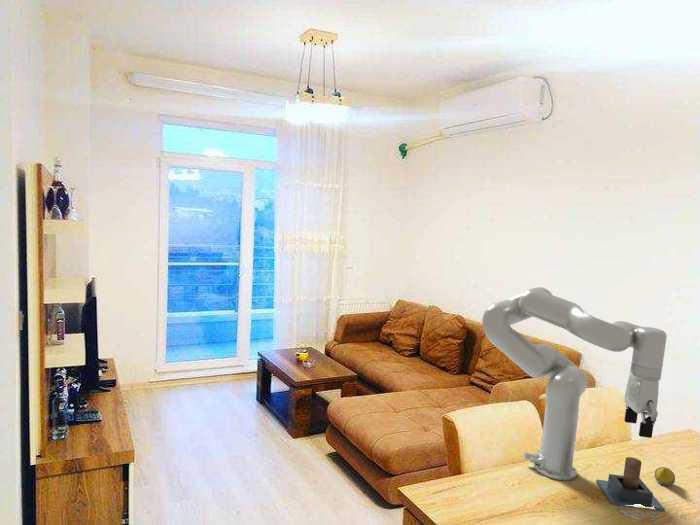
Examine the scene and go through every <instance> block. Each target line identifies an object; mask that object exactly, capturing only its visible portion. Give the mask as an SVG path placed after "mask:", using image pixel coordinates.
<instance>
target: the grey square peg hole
mask: <svg viewBox="0 0 700 525" xmlns="http://www.w3.org/2000/svg"><path fill="white" fill-rule="evenodd" d="M622 482H623V475H618V474H611V473H608V480H603V479H596V480H595V483H596V484H597V485H598V487H599V489H600V491H601V492H602V493H603V495H604V496H605V497H606V500H607V501H608V502H609V503H610V504H611V505H612V506H613V505H614V506H622V507H625V506H624V505H634V504H641V505H643V506H645V507H653V506H654V508H655V509H656V510H655V511H656V512H657V511H658V512H665V507H664V506H663V505H662V504H661V502H659V500H658V499H657V498H656V496H654V493H653V492H652V491H651V490H650V488H649V487H648V486H647V485H646V484H645V483H644V481H643V480H642V479H641V477H640V478H639V485H638V489H632V488H625V487H623V485H622Z"/></svg>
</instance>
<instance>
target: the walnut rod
mask: <svg viewBox="0 0 700 525" xmlns="http://www.w3.org/2000/svg"><path fill="white" fill-rule="evenodd" d="M623 467H624V468H623V474H622V476H623V482H622V485H623V487H625V488H632V489H638V485H639V478H640V479H641V477H640V476H641V469H642V461H641V460H640V459H638V458H636V457H631V456H627V457H625V461H624V466H623Z"/></svg>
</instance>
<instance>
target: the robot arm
mask: <svg viewBox="0 0 700 525" xmlns="http://www.w3.org/2000/svg"><path fill="white" fill-rule="evenodd" d="M531 318H535V319H539V320H540V321H543V322H545V323H549V324H551V325H553V326H556V327H558V328H562V329H563V330H566V331H567V332H569V333H570V334H572V335H573V336H575V337H577V338H579V339H581V340H583V341H585V342H588V343H589V344H591V345H594V346H597V347H599V348H601V349H604V350H606V351H610V352H613V353H614V352H615V353H618V352H624V351H625V350H627V349H629V348H632V358H631V363H630V369H629V370H630V371H629V376H628V379H627V383H626V388H625V393H624V403H625V404H626V405H625V412H624V413H625V414H624V422H625V423H628V424H637V423H638V422H637V421H638V415H639V414H640V416H641V421H640V424H639V430H638V436H639V437H641V438H650V439H651V438H652V437H653V431H654V425H655V423H656V421H657V417H658V415H659V413H658V410H657V408H658V400H659V387H660V386H659V385H660V384H659V381H660V380H661V377H662V371H663V364H664V358H665V351H666V343H667V333H666V331H664V330H663V329H660V328H655V327H650V326H641V325H636V324H634V323H630V322H628V321H622V320H621V321H620V320H619V321H618V320H617V321H614V322H612V323H611V322H608V321H605V320H602V319H600V318H598V317H595V316H593V315H591V314H589V313H588V312H587V311H585V310H584V309H583V308H582V307H581V306H580V305H578V304H577V303H576V302H573V301H570V300H567V299H564V298H561V297H558V296H556V295H553V294H552V292H551V291H550V290H549V289H547V288H546V287H545V288H544V287H540V286H539V287H531V288H528V289H527V290H525V291H524V292H523V293H521V294H518V295H516V296H513V297H511V298H508V299H505V300H501V301H497V302H495V303H492V304H490V305H489V306H488V307H487V308H486V309H485V311H484V313H483V316H482V321H481V322H482V323H481V324H482V325H481V326H482V329H483V332H484V335H485V337H486V338H487V339H488V341H489V342H490V343H491V344H492V345H493V346H494V347H495V348H497V349H498V350H499V351H500V352H502V354H504V355H505V356H507V358H509V360H511V361H512V362H513V363H514V364H515V365H517V367H519V368H520V369H521V370H522V371H523V372H524V373H525V374H526V375H528V376H529V377H531V378H534V379H541V378H544V377H546V378H547V379H548V381H547V383H546V388H545V409H544V418H543V426H542V427H543V428H542V435H541V444H540V445H541V446H540V450H537V452H534V453H531V452H524V453H523V459H524V460H529V463H533V468H534V469H535V470H536V471H537V472H539V473H540V474H542V475H543V476H545V477H548V478H551V479H552V480H558V481H573V480H574V479H576V478H577V476H578V471H577V469H576V468H575V467H574V466H573V464H574V463H573V461H574V454H575V446H576V445H575V444H576V438H577V432H578V431H577V430H578V422H579V421H578V420H579V412H580V407H579V406H580V398H581V396H582V395H583V394H584V393H585V392H586V390H587V388H588V385H589V384H588V381H589V380H588V378H587V375H586V373H585V372H584V371H583V370H582V369H581V368H580V367H579V366H577V365H576V364H575V363H574V362H573V361H572V360H570V359H569V358H568V357H566V355H564V354H562V352H560V351H559V350H558V349H556V348H555V347H553V346H551V345H550V344H546V343H539V344H535V343H533V342H532V341H530V340H529V339H528V338H527V337H526V336H524V335H523V334H522V333H520V332H519V331H516V330H515V329H514V328H512V327H511V326H512V325H514V324H517V323H520V322H522V321H525V320H528V319H531ZM646 416H647V417H646Z"/></svg>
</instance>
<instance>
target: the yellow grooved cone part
mask: <svg viewBox="0 0 700 525" xmlns="http://www.w3.org/2000/svg"><path fill="white" fill-rule="evenodd" d="M654 479H655V480H656V482H657V483H658V484H660V485H662V486H665V487H669V486H673V484H675V482H676V475H675V473H674V472H673V470H672V469H671V468H668V467H666V466H661V467H658V468H657V469H656V470H654Z"/></svg>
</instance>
